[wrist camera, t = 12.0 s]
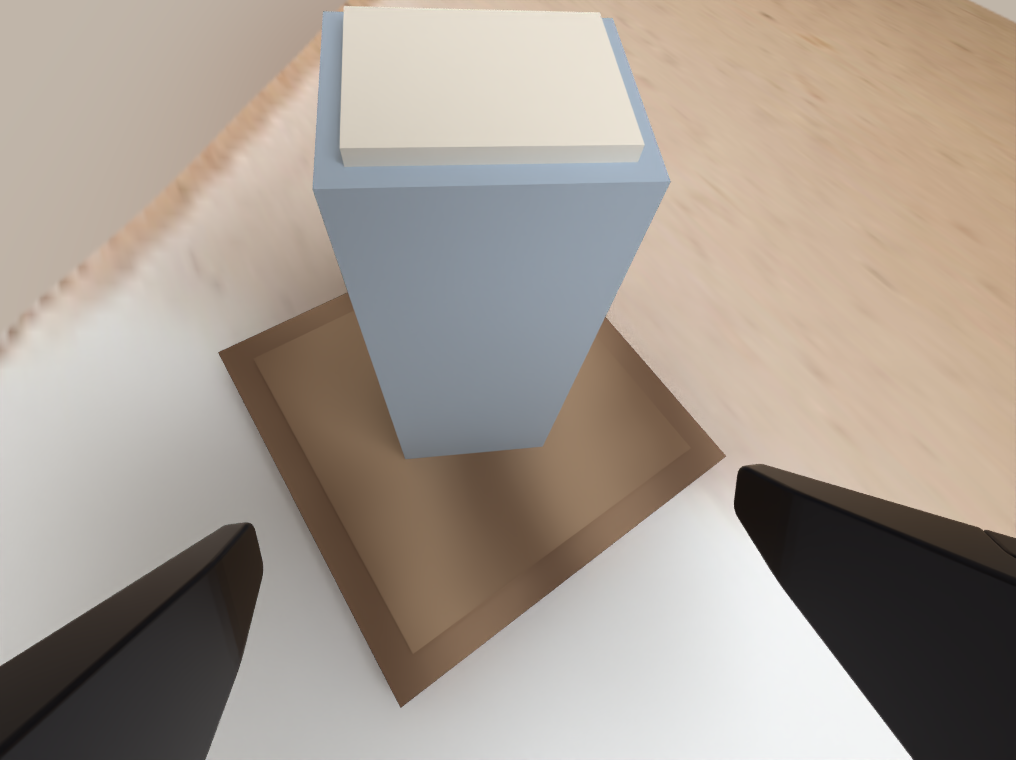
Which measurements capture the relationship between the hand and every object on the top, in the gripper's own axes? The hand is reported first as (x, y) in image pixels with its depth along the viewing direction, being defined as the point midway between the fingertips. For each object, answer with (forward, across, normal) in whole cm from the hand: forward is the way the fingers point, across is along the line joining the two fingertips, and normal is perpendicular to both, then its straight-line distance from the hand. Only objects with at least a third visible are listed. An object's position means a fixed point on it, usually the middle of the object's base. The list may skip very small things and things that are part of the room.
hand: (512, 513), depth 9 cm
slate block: (+10, 0, +2) cm, 10 cm away
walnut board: (+11, 0, +2) cm, 11 cm away
